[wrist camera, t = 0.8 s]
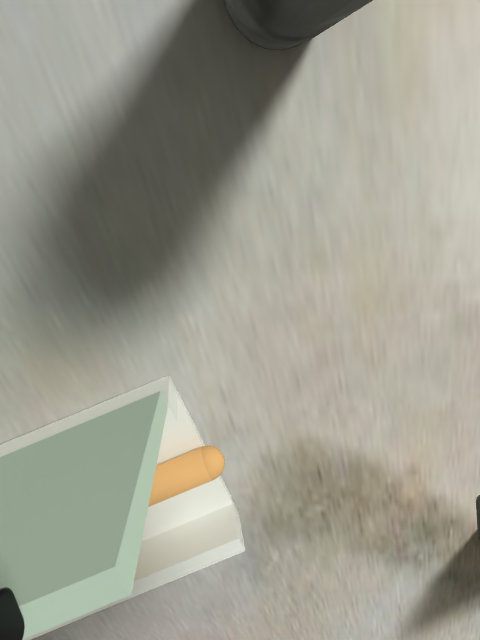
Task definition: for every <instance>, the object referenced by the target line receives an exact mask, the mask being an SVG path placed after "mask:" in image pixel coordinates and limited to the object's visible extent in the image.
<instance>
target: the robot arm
mask: <svg viewBox="0 0 480 640" xmlns="http://www.w3.org/2000/svg"><path fill="white" fill-rule="evenodd" d="M476 510H477V526H478V534H479V538H480V495H479V496H478V497H477V499H476ZM24 630H25V624H24V618H23V616H22V613H21V611H20V608H19V606H18V603H17V601H16V598H15V596H14V593H13V591H12V590H11V589H10V588H7V587H4V588H0V640H22V639H23V636H24Z"/></svg>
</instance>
